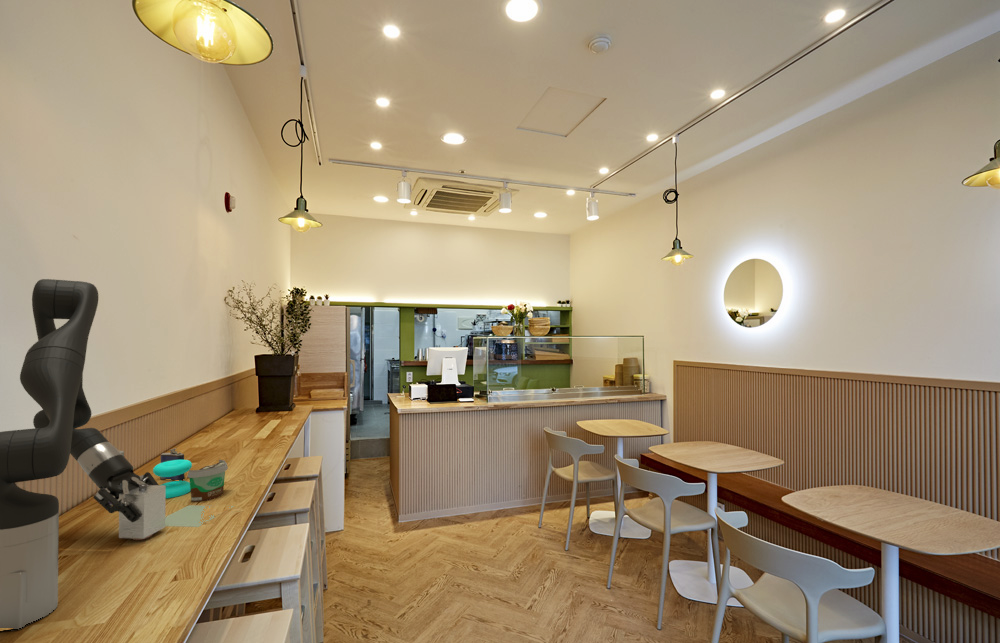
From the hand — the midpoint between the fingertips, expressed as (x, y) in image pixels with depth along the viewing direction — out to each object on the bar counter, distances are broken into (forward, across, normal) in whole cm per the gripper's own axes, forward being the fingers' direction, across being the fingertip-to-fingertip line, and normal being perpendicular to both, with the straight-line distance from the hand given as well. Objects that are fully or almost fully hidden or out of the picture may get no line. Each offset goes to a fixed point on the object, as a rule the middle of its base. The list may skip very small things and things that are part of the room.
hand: (149, 513), depth 113 cm
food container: (+2, +27, +7) cm, 28 cm away
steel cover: (+2, 0, +4) cm, 5 cm away
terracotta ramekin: (+3, 0, +5) cm, 6 cm away
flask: (-17, +44, +26) cm, 54 cm away
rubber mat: (+5, +13, +4) cm, 15 cm away
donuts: (-9, +30, +18) cm, 36 cm away
